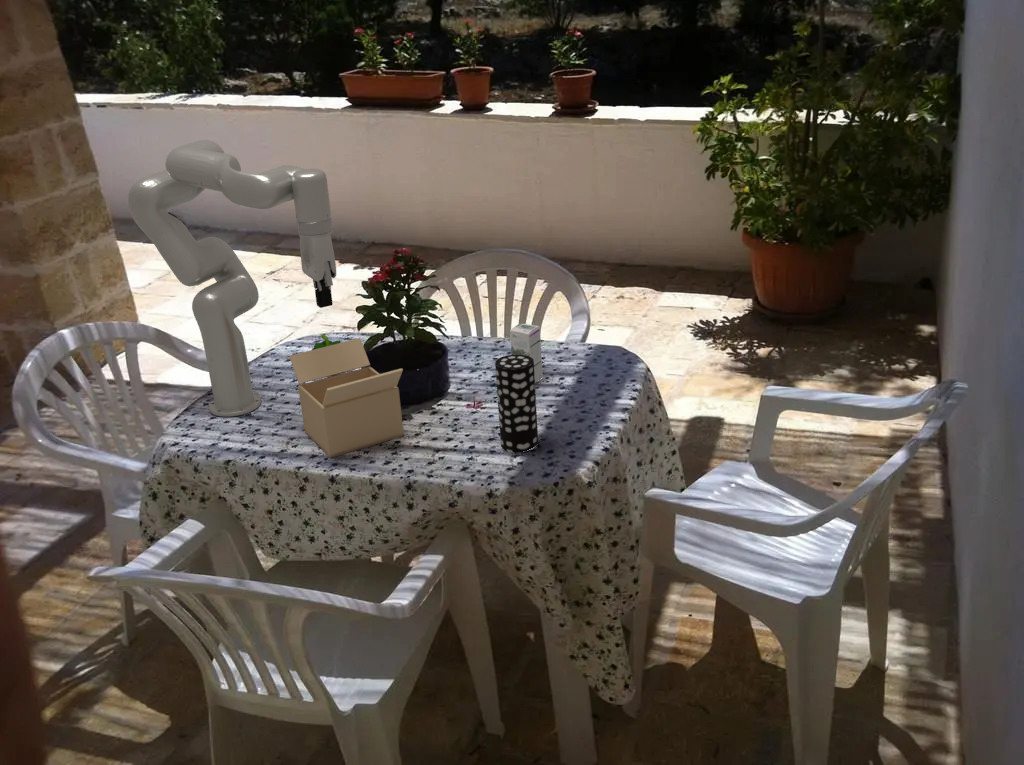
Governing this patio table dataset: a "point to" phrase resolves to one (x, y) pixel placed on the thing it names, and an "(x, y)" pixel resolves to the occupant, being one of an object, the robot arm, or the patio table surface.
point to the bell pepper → (325, 342)
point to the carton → (350, 415)
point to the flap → (329, 360)
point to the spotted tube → (516, 402)
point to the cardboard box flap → (362, 387)
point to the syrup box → (528, 345)
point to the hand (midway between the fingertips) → (324, 305)
